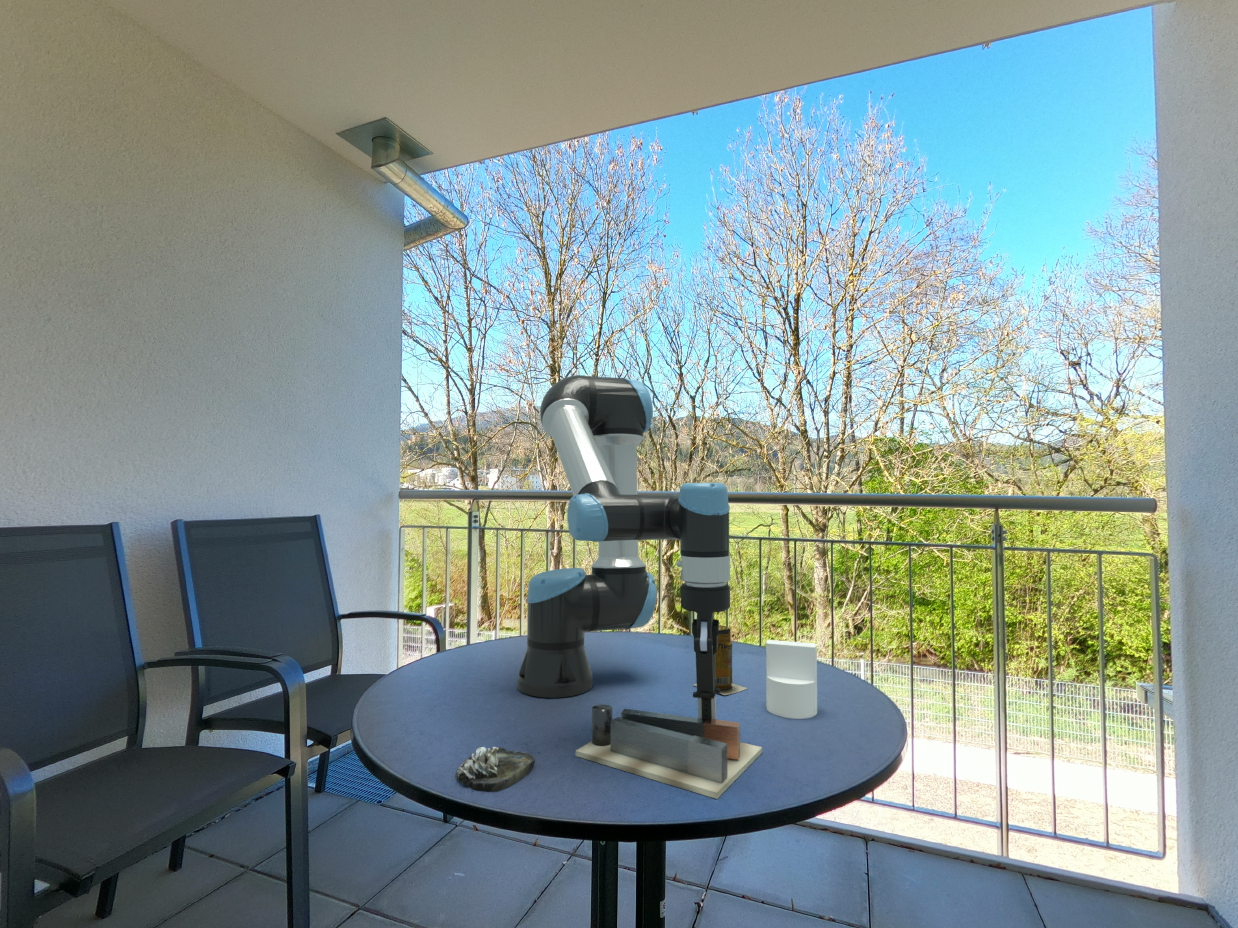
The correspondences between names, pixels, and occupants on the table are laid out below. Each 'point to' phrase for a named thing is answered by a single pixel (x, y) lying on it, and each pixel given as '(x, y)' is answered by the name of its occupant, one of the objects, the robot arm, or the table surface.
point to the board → (670, 775)
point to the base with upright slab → (791, 679)
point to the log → (494, 769)
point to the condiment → (724, 663)
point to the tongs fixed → (660, 745)
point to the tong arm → (692, 727)
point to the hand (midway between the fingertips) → (707, 738)
